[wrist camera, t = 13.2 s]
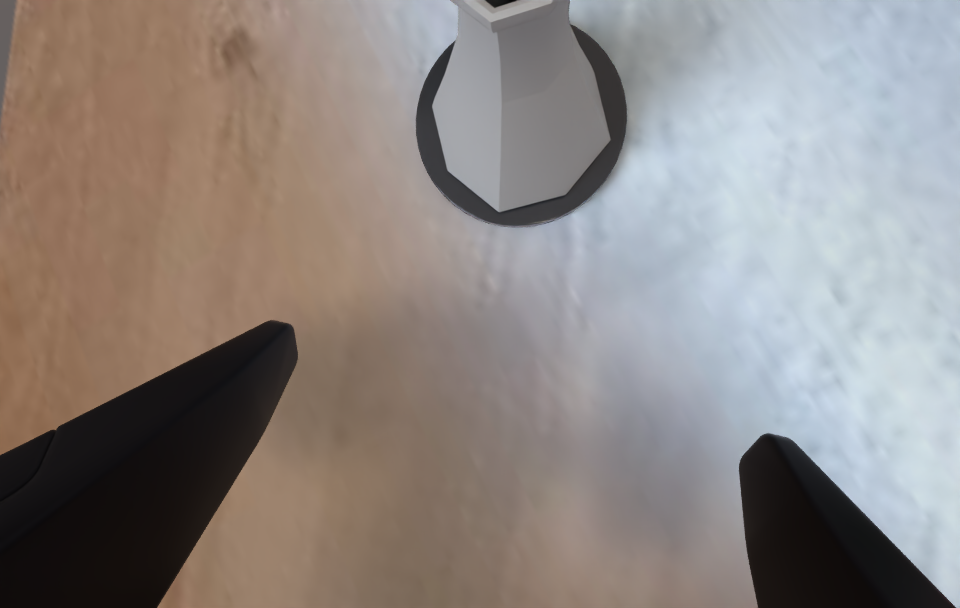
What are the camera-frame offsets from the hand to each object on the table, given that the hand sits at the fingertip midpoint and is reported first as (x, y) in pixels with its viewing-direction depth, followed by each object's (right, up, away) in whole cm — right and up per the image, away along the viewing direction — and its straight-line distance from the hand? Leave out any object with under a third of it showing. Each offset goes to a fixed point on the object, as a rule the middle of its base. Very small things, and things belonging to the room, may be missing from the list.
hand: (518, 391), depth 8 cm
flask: (+1, +9, +11) cm, 14 cm away
